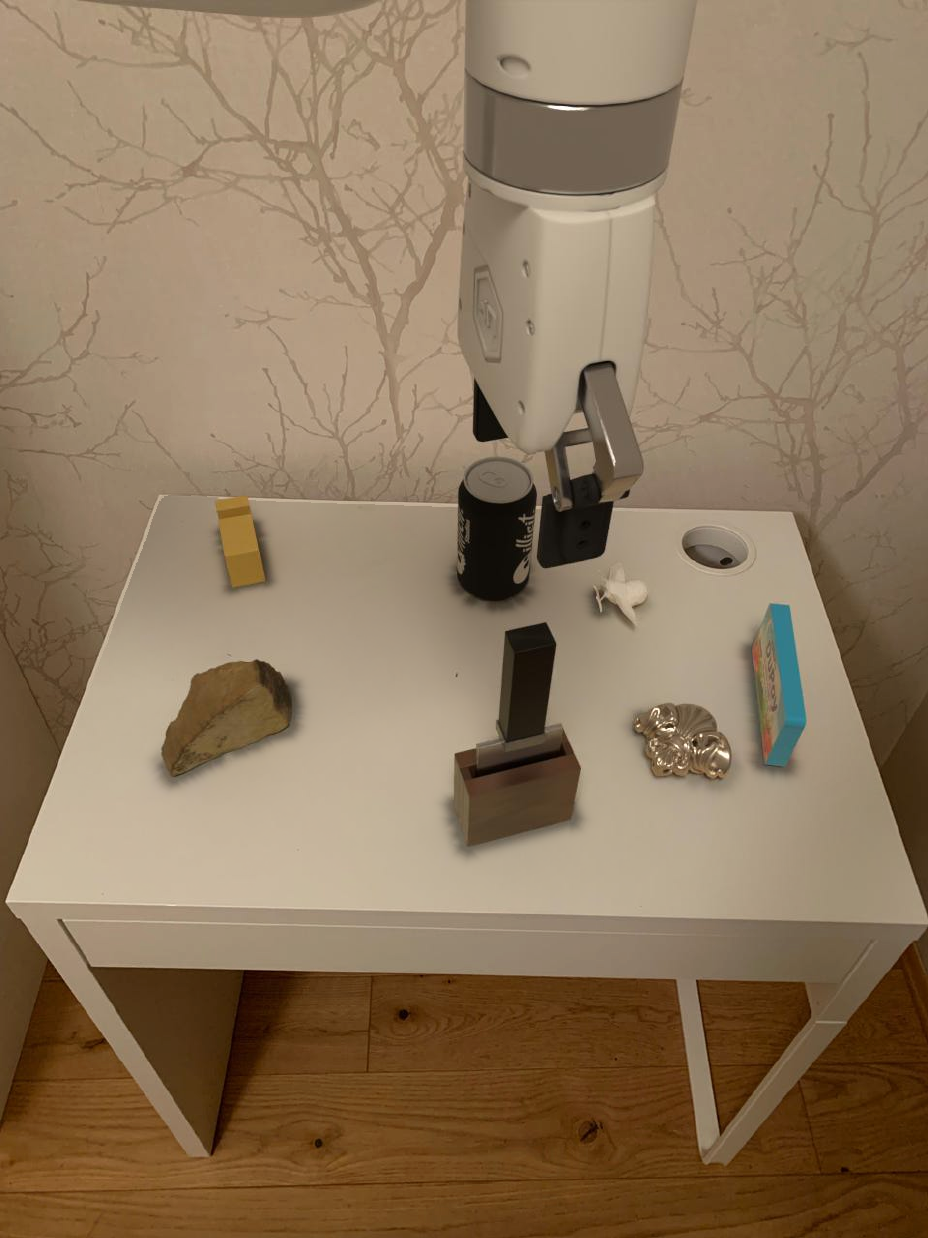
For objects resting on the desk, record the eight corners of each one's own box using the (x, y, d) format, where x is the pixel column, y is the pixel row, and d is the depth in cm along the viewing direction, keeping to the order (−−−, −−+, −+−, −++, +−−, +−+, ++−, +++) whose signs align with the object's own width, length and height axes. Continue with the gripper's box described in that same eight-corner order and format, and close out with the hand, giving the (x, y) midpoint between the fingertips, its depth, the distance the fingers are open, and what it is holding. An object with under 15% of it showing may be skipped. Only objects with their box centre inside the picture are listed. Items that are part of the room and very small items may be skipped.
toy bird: (660, 631, 79) (650, 597, 76) (608, 646, 80) (595, 612, 77) (642, 566, 84) (632, 531, 81) (594, 580, 85) (581, 546, 82)
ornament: (608, 754, 71) (615, 727, 69) (655, 700, 75) (663, 673, 72) (698, 813, 68) (709, 787, 65) (742, 754, 71) (754, 727, 69)
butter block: (232, 588, 83) (224, 556, 80) (225, 551, 86) (218, 519, 83) (265, 581, 83) (259, 549, 80) (257, 545, 86) (251, 513, 83)
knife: (477, 834, 66) (486, 660, 52) (469, 811, 68) (476, 635, 53) (554, 814, 68) (585, 638, 53) (545, 791, 69) (572, 614, 54)
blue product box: (783, 769, 71) (807, 722, 66) (764, 767, 71) (786, 720, 66) (769, 651, 79) (789, 602, 74) (751, 649, 79) (770, 600, 74)
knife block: (467, 847, 66) (469, 796, 61) (453, 805, 68) (454, 752, 63) (570, 820, 67) (581, 768, 62) (554, 779, 70) (562, 726, 64)
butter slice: (224, 542, 86) (216, 510, 84) (222, 532, 87) (214, 500, 84) (256, 536, 87) (249, 504, 84) (254, 526, 88) (247, 494, 85)
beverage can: (500, 617, 81) (507, 515, 72) (442, 584, 83) (442, 482, 74) (542, 575, 84) (554, 473, 75) (485, 545, 87) (489, 443, 78)
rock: (144, 797, 65) (281, 775, 65) (116, 683, 64) (256, 660, 64) (187, 746, 76) (305, 727, 76) (164, 647, 74) (284, 628, 74)
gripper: (405, 55, 37) (416, 406, 50) (556, 249, 26) (520, 635, 39) (576, 40, 39) (544, 385, 52) (785, 218, 28) (679, 599, 41)
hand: (534, 492), depth 45 cm, fingers open, 9 cm apart
